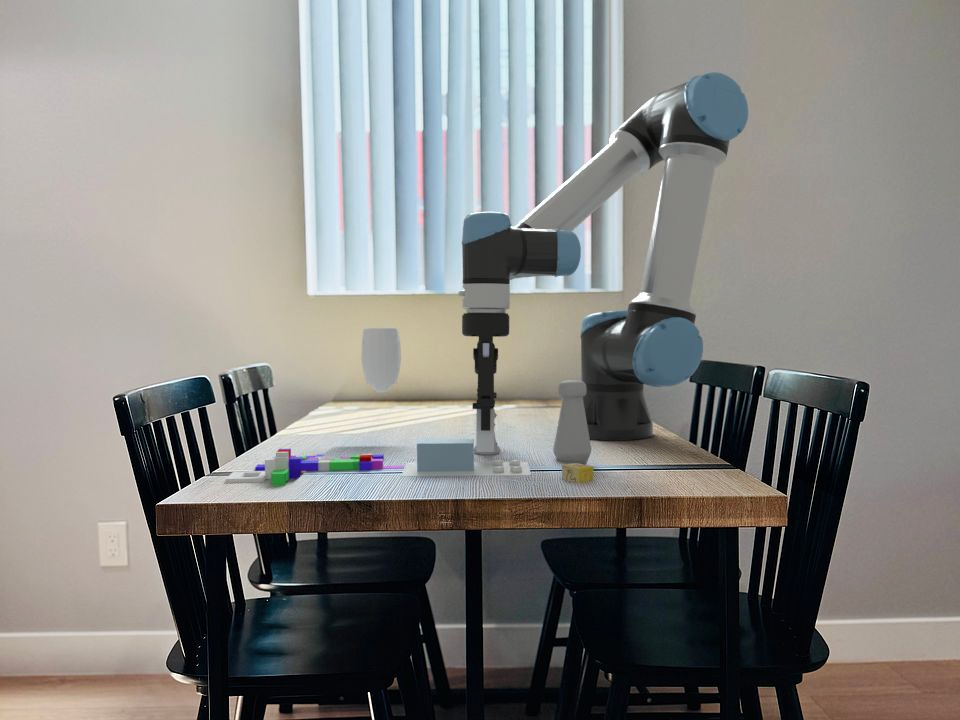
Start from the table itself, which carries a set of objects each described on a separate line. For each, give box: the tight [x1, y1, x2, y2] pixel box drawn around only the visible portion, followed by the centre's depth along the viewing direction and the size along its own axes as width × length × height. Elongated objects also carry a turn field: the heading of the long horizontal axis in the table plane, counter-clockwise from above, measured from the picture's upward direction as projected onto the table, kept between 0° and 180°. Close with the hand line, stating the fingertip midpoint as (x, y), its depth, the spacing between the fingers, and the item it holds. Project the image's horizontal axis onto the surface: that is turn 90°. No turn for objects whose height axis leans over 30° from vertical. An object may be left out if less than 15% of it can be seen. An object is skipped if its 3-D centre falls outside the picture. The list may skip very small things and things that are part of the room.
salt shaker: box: [552, 379, 592, 465], centre depth 122 cm, size 6×6×13 cm
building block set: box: [225, 448, 405, 487], centre depth 121 cm, size 25×20×4 cm
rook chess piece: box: [474, 408, 501, 456], centre depth 128 cm, size 4×4×8 cm
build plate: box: [400, 459, 532, 477], centre depth 116 cm, size 18×10×2 cm, turn 90°
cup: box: [361, 327, 402, 394], centre depth 146 cm, size 7×7×21 cm
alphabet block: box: [561, 462, 594, 484], centre depth 108 cm, size 3×3×3 cm
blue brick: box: [416, 438, 475, 472], centre depth 115 cm, size 8×4×4 cm, turn 90°
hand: (485, 444), depth 128 cm, fingers open, 13 cm apart
